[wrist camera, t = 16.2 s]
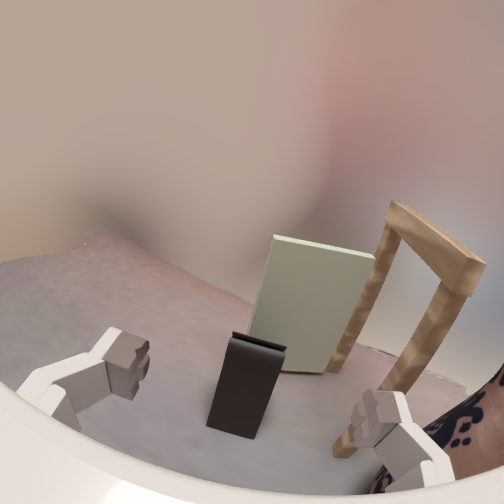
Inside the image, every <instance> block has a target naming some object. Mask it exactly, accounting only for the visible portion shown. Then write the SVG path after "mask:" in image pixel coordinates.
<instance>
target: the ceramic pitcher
mask: <svg viewBox="0 0 504 504" xmlns="http://www.w3.org/2000/svg"><path fill="white" fill-rule="evenodd" d="M422 430H423V431H424V432H425V433H426V434H427V435H428V436H429V437H430V438H431V439H432V440H433V441H434V442H435V443H436V444H437V445H438V446H439V447H440V448H441V449H442V450H443V451H444V452H445V453H446V454H447V455H448V456H449V458H450V462H451V465H452V469H453V473H454V476H455V480H460V479H463V478H467V477H470V476H474V475H477V474H480V473H483V472H486V471H489V470H492V469H495V468H498V467H500V466H503V465H504V364H503V365H502V367H501V368H500V370H499V371H498V372H497V373H496V374H495V376H494V377H493V378H491V379H490V380H489V381H488V382H487V383H486V384H485V385H484V386H483V387H482V388H481V389H479V390H478V391H477V392H475V393H474V394H473V395H471V396H470V397H468V398H467V399H466V400H465V401H463V402H462V403H460V404H459V405H457V406H456V407H454V408H453V409H451V410H450V411H448V412H447V413H445V414H444V415H442V416H441V417H439V418H438V419H437V420H435V421H434V422H432V423H431V424H429V425H428V426H426V427H425V428H423V429H422ZM394 481H395V480H394V478H393V477H392V476H391V474H390V473H389V471H388V470H387V468H386V467H385V465H383V466H382V468H381V469H380V470H379V472H378V474H377V476H376V478H375V480H374V482H373V484H372V486H371V490H370V494H379V493H385V488H386V487H387V486H389V485H390V484H392V483H393V482H394Z"/></svg>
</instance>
